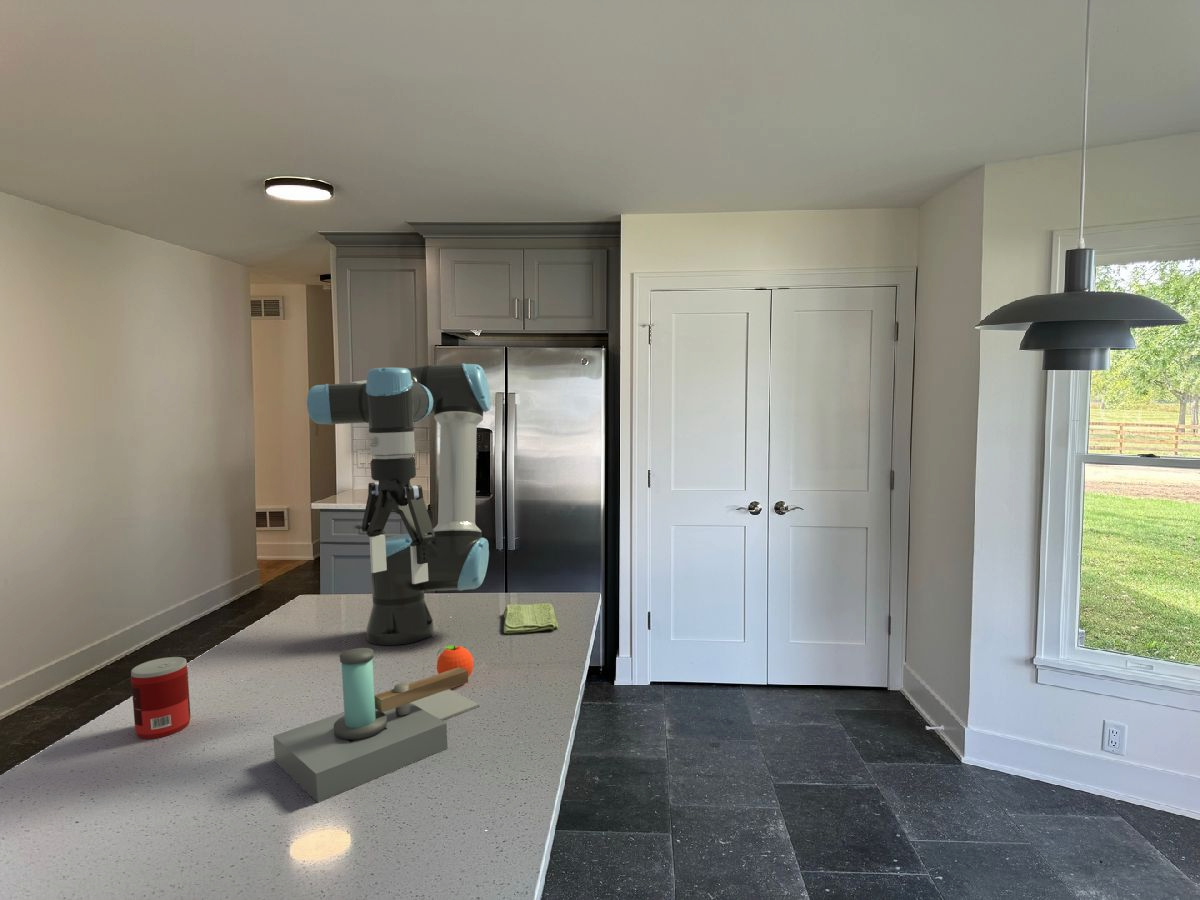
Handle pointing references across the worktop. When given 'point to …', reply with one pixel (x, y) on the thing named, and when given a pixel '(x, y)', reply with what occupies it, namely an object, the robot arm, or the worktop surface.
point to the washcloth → (529, 618)
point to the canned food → (160, 697)
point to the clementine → (455, 659)
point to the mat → (445, 704)
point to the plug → (358, 697)
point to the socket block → (356, 751)
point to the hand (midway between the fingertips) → (398, 576)
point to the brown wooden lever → (418, 690)
